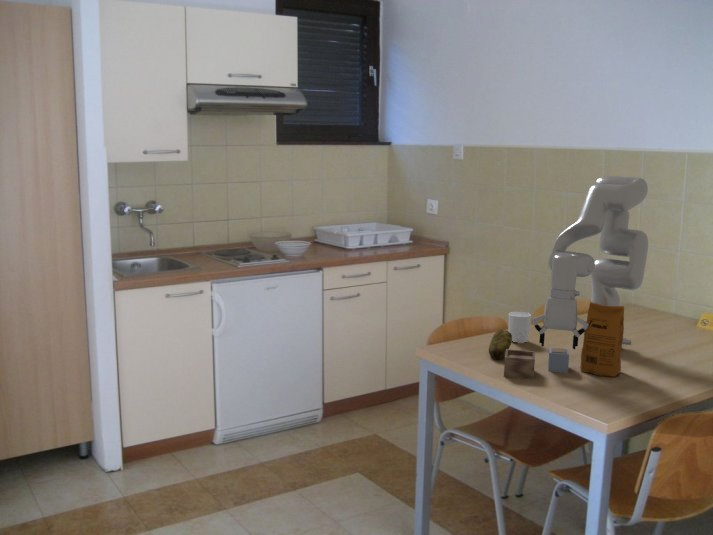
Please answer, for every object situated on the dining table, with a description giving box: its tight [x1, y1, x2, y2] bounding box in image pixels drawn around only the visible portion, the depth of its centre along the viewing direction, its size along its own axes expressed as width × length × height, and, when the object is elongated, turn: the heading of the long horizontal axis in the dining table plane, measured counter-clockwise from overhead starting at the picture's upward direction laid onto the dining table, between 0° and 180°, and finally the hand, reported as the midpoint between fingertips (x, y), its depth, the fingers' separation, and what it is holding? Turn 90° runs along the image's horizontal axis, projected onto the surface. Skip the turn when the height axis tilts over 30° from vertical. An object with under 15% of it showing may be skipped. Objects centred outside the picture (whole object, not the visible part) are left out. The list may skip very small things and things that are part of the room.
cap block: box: [547, 347, 570, 374], centre depth 237 cm, size 6×6×6 cm
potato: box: [488, 329, 513, 360], centre depth 251 cm, size 8×13×8 cm, turn 140°
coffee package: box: [579, 301, 625, 378], centre depth 234 cm, size 10×12×22 cm
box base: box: [503, 348, 536, 380], centre depth 232 cm, size 9×9×6 cm
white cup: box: [508, 311, 532, 344], centre depth 269 cm, size 8×8×10 cm
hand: (558, 346), depth 236 cm, fingers open, 9 cm apart
